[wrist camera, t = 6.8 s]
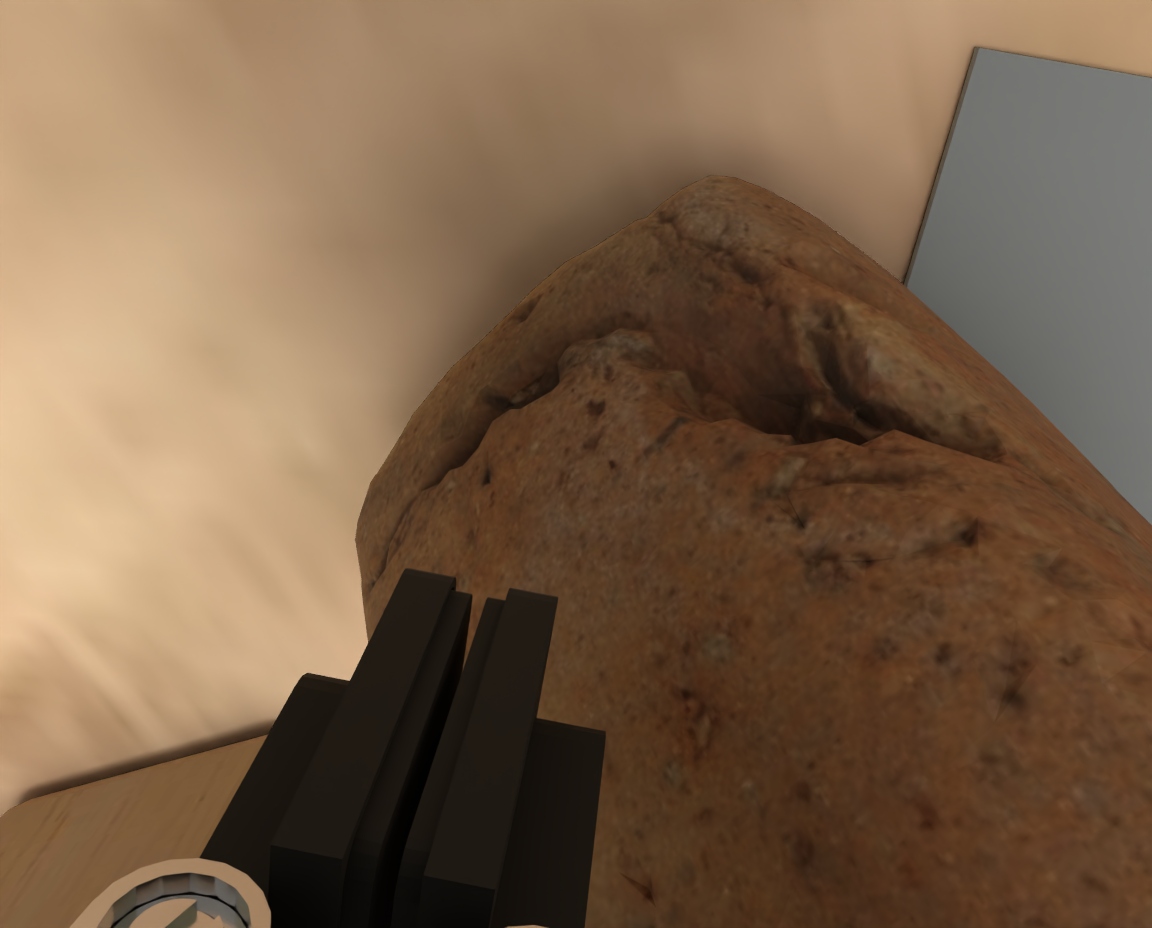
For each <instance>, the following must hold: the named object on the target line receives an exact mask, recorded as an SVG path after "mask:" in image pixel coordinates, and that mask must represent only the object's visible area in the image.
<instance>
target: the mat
mask: <svg viewBox="0 0 1152 928" xmlns="http://www.w3.org/2000/svg"><path fill="white" fill-rule="evenodd" d="M904 286H906V287H907V288H908V289H909V290H910V291H911V292H912V293H913V294H914V295H916V296H917V297H918V298H919V299H920V300H921V301H922V302H923V303H924V304H925V305H927V306H928V307H929V308H930V309H931V310H932V311H933V312H934V313H935V314H936V315H937V316H939V317H940V318H941V319H942V320H943V321H944V322H945V323H946V324H947V325H948V326H950V327H951V328H952V329H953V330H954V331H955V332H956V333H957V334H958V335H959V336H960V337H962V338H963V339H964V340H965V341H966V342H967V343H968V344H969V345H970V346H972V347H973V348H974V349H975V350H976V351H977V352H978V353H979V354H980V355H981V356H983V357H984V358H985V359H986V360H987V361H988V362H989V363H990V364H991V365H993V366H994V367H995V368H996V369H997V370H998V371H999V372H1000V373H1001V374H1003V375H1004V376H1005V377H1006V378H1007V379H1008V380H1009V381H1010V382H1011V383H1012V384H1013V385H1014V386H1015V387H1016V388H1017V389H1018V390H1019V391H1020V392H1021V393H1022V394H1023V395H1024V396H1025V397H1026V398H1027V399H1028V400H1030V401H1031V402H1032V403H1033V404H1034V405H1035V406H1036V407H1037V408H1038V409H1039V410H1040V411H1041V412H1042V413H1043V414H1044V415H1045V416H1046V417H1047V418H1048V420H1049V421H1050V422H1051V423H1052V424H1053V425H1054V426H1055V427H1056V428H1057V429H1058V430H1059V431H1060V432H1061V433H1062V434H1063V435H1064V436H1065V437H1066V438H1067V439H1068V440H1069V441H1070V442H1071V443H1072V444H1073V445H1074V446H1075V447H1076V448H1077V449H1078V450H1079V451H1080V452H1081V453H1082V454H1083V455H1084V456H1085V457H1086V458H1087V459H1088V460H1089V461H1090V462H1091V463H1092V464H1093V465H1094V466H1095V468H1096V469H1097V470H1098V471H1099V472H1100V473H1101V474H1102V475H1103V476H1104V477H1105V478H1106V479H1107V480H1108V481H1109V482H1110V483H1111V484H1112V485H1113V486H1114V488H1115V489H1116V490H1117V491H1118V492H1119V493H1120V494H1121V495H1122V496H1123V497H1124V498H1125V499H1126V500H1127V501H1128V502H1129V503H1130V504H1131V505H1132V506H1133V507H1134V508H1135V509H1136V510H1137V511H1138V512H1139V513H1140V514H1141V515H1142V516H1143V517H1144V518H1145V519H1146V520H1147V521H1148V522H1149V523H1150V524H1151V525H1152V78H1150V77H1144V76H1139V75H1133V74H1127V73H1122V72H1116V71H1110V70H1104V69H1099V68H1093V67H1087V66H1081V65H1076V64H1070V63H1064V62H1059V61H1053V60H1047V59H1041V58H1036V57H1030V56H1024V55H1018V54H1013V53H1007V52H1001V51H996V50H990V49H984V48H978V47H975V50H974V53H973V57H972V60H971V63H970V66H969V70H968V73H967V76H966V80H965V83H964V86H963V90H962V93H961V96H960V100H959V103H958V106H957V110H956V113H955V116H954V120H953V123H952V126H951V130H950V133H949V136H948V140H947V143H946V146H945V150H944V153H943V156H942V159H941V163H940V166H939V169H938V173H937V176H936V179H935V183H934V186H933V189H932V193H931V196H930V199H929V203H928V206H927V209H926V213H925V216H924V219H923V223H922V226H921V229H920V233H919V236H918V239H917V243H916V246H915V249H914V252H913V256H912V259H911V262H910V266H909V269H908V272H907V276H906V279H905V282H904Z"/></svg>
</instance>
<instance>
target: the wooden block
mask: <svg viewBox="0 0 1152 928" xmlns="http://www.w3.org/2000/svg"><path fill="white" fill-rule="evenodd" d="M267 736H268V735H264V736H260V737H257V738H253V739H249V740H246V741H242V742H238V743H235V744H231V745H227V746H224V747H220V748H216V749H213V750H209V751H205V752H202V753H198V754H194V755H191V756H187V757H183V758H180V759H176V760H172V761H169V762H165V763H161V764H158V765H154V766H150V767H147V768H143V769H139V770H136V771H132V772H128V773H125V774H121V775H117V776H114V777H110V778H106V779H103V780H99V781H95V782H92V783H88V784H84V785H81V786H77V787H73V788H70V789H66V790H62V791H59V792H55V793H51V794H48V795H44V796H40V797H37V798H33V799H30V800H28V801H26V802H24V803H22V804H20V805H18V806H16V807H14V808H12V809H10V810H8V811H7V812H6V813H5V814H4V815H3V816H2V817H1V818H0V928H70V926H71V925H72V924H73V923H74V922H75V921H76V920H77V918H78V917H79V916H80V915H81V914H82V913H83V911H84V910H85V909H86V908H87V907H88V906H89V904H90V903H91V902H92V901H93V900H94V899H96V898H97V897H98V896H99V895H100V894H101V893H102V892H103V891H105V890H106V889H107V888H108V887H109V886H110V885H111V884H112V883H114V882H115V881H117V880H119V879H121V878H123V877H124V876H126V875H128V874H130V873H132V872H134V871H136V870H138V869H139V868H142V867H145V866H149V865H152V864H156V863H160V862H163V861H167V860H172V859H191V858H199V857H200V855H201V854H202V852H203V850H204V848H205V847H206V845H207V843H208V841H209V839H210V838H211V836H212V834H213V832H214V830H215V829H216V827H217V825H218V823H219V821H220V820H221V818H222V816H223V814H224V813H225V811H226V809H227V807H228V805H229V804H230V802H231V800H232V798H233V796H234V795H235V793H236V791H237V789H238V787H239V786H240V784H241V782H242V780H243V779H244V777H245V775H246V773H247V771H248V770H249V768H250V766H251V764H252V762H253V761H254V759H255V757H256V755H257V754H258V752H259V750H260V748H261V746H262V745H263V743H264V741H265V739H266V737H267Z"/></svg>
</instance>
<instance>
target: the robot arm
mask: <svg viewBox="0 0 1152 928" xmlns="http://www.w3.org/2000/svg"><path fill="white" fill-rule="evenodd" d="M472 597H473V596H472V594H470V593H465V592H460V591H456V577H453V576H447V575H442V574H437V573H432V572H427V571H421V570H416V569H411V568H406V569H405V570H404V571H403V573H402V575H401V577H400V579H399V581H398V583H397V585H396V587H395V589H394V591H393V593H392V595H391V598H390V600H389V602H388V604H387V606H386V608H385V610H384V612H383V614H382V616H381V618H380V620H379V622H378V624H377V626H376V628H375V631H374V633H373V635H372V637H371V639H370V641H369V643H368V645H367V647H366V649H365V651H364V653H363V655H362V657H361V659H360V661H359V664H358V666H357V668H356V670H355V672H354V674H353V676H352V678H351V680H350V681H346V680H341V679H336V678H331V677H326V676H321V675H316V674H311V673H306V674H305V675H303V676H302V677H301V678H300V680H299V681H298V683H297V684H296V686H295V687H294V689H293V691H292V693H291V694H290V696H289V698H288V700H287V702H286V703H285V705H284V707H283V709H282V711H281V712H280V714H279V716H278V718H277V720H276V721H275V723H274V725H273V727H272V728H271V730H270V732H269V734H268V736H267V737H266V739H265V741H264V743H263V745H262V746H261V748H260V750H259V752H258V754H257V755H256V757H255V759H254V761H253V762H252V764H251V766H250V768H249V770H248V771H247V773H246V775H245V777H244V779H243V780H242V782H241V784H240V786H239V787H238V789H237V791H236V793H235V795H234V796H233V798H232V800H231V802H230V804H229V805H228V807H227V809H226V811H225V813H224V814H223V816H222V818H221V820H220V821H219V823H218V825H217V827H216V829H215V830H214V832H213V834H212V836H211V838H210V839H209V841H208V843H207V845H206V847H205V848H204V850H203V852H202V854H201V855H200V857H199V858H191V859H172V860H167V861H163V862H160V863H156V864H152V865H149V866H145V867H142V868H139V869H138V870H136V871H134V872H132V873H130V874H128V875H126V876H124V877H123V878H121V879H119V880H117V881H115V882H114V883H112V884H111V885H110V886H109V887H108V888H107V889H106V890H105V891H103V892H102V893H101V894H100V895H99V896H98V897H97V898H96V899H94V900H93V901H92V902H91V903H90V904H89V906H88V907H87V908H86V909H85V910H84V911H83V913H82V914H81V915H80V916H79V917H78V918H77V920H76V921H75V922H74V923H73V924H72V925H71V926H70V928H585V920H586V911H587V902H588V893H589V884H590V876H591V867H592V858H593V849H594V840H595V831H596V822H597V813H598V804H599V795H600V786H601V777H602V768H603V760H604V751H605V740H606V731H602V730H597V729H592V728H587V727H581V726H576V725H571V724H566V723H561V722H556V721H551V720H546V719H541V718H537V713H538V707H539V702H540V696H541V691H542V685H543V680H544V674H545V669H546V663H547V658H548V653H549V647H550V642H551V636H552V631H553V625H554V620H555V614H556V609H557V603H558V597H556V596H551V595H546V594H541V593H535V592H530V591H525V590H520V589H515V588H509V590H508V593H507V596H506V600H501V599H496V598H491V597H487V599H486V602H485V605H484V608H483V611H482V614H481V617H480V620H479V623H478V626H477V629H476V632H475V635H474V638H473V641H472V644H471V647H470V650H469V653H468V656H467V659H466V663H465V666H464V669H463V665H464V658H465V650H466V643H467V636H468V629H469V622H470V615H471V608H472Z"/></svg>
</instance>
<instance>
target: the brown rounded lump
mask: <svg viewBox="0 0 1152 928" xmlns="http://www.w3.org/2000/svg"><path fill="white" fill-rule="evenodd" d="M355 541H356V548H357V554H358V560H359V566H360V572H361V578H362V596H363V606H364V614H365V621H366V629H367V637H368V643H369V641H370V639H371V637H372V635H373V633H374V631H375V628H376V626H377V624H378V622H379V620H380V618H381V616H382V614H383V612H384V610H385V608H386V606H387V604H388V602H389V600H390V598H391V595H392V593H393V591H394V589H395V587H396V585H397V583H398V581H399V579H400V577H401V575H402V573H403V571H404V570H405V569H406V568H411V569H416V570H421V571H427V572H432V573H437V574H442V575H447V576H453V577H456V591H460V592H465V593H470V594H472V596H473V597H472V608H471V615H470V622H469V629H468V636H467V643H466V650H465V658H464V665H463V669H464V666H465V663H466V659H467V656H468V653H469V650H470V647H471V644H472V641H473V638H474V635H475V632H476V629H477V626H478V623H479V620H480V617H481V614H482V611H483V608H484V605H485V602H486V599H487V597H491V598H496V599H501V600H506V596H507V593H508V590H509V588H515V589H520V590H525V591H530V592H535V593H541V594H546V595H551V596H556V597H558V603H557V609H556V614H555V620H554V625H553V631H552V636H551V642H550V647H549V653H548V658H547V663H546V669H545V674H544V680H543V685H542V691H541V696H540V702H539V707H538V713H537V718H541V719H546V720H551V721H556V722H561V723H566V724H571V725H576V726H581V727H587V728H592V729H597V730H602V731H606V740H605V751H604V760H603V768H602V777H601V786H600V795H599V804H598V813H597V822H596V831H595V840H594V849H593V858H592V867H591V876H590V884H589V893H588V902H587V911H586V920H585V928H1152V525H1151V524H1150V523H1149V522H1148V521H1147V520H1146V519H1145V518H1144V517H1143V516H1142V515H1141V514H1140V513H1139V512H1138V511H1137V510H1136V509H1135V508H1134V507H1133V506H1132V505H1131V504H1130V503H1129V502H1128V501H1127V500H1126V499H1125V498H1124V497H1123V496H1122V495H1121V494H1120V493H1119V492H1118V491H1117V490H1116V489H1115V488H1114V486H1113V485H1112V484H1111V483H1110V482H1109V481H1108V480H1107V479H1106V478H1105V477H1104V476H1103V475H1102V474H1101V473H1100V472H1099V471H1098V470H1097V469H1096V468H1095V466H1094V465H1093V464H1092V463H1091V462H1090V461H1089V460H1088V459H1087V458H1086V457H1085V456H1084V455H1083V454H1082V453H1081V452H1080V451H1079V450H1078V449H1077V448H1076V447H1075V446H1074V445H1073V444H1072V443H1071V442H1070V441H1069V440H1068V439H1067V438H1066V437H1065V436H1064V435H1063V434H1062V433H1061V432H1060V431H1059V430H1058V429H1057V428H1056V427H1055V426H1054V425H1053V424H1052V423H1051V422H1050V421H1049V420H1048V418H1047V417H1046V416H1045V415H1044V414H1043V413H1042V412H1041V411H1040V410H1039V409H1038V408H1037V407H1036V406H1035V405H1034V404H1033V403H1032V402H1031V401H1030V400H1028V399H1027V398H1026V397H1025V396H1024V395H1023V394H1022V393H1021V392H1020V391H1019V390H1018V389H1017V388H1016V387H1015V386H1014V385H1013V384H1012V383H1011V382H1010V381H1009V380H1008V379H1007V378H1006V377H1005V376H1004V375H1003V374H1001V373H1000V372H999V371H998V370H997V369H996V368H995V367H994V366H993V365H991V364H990V363H989V362H988V361H987V360H986V359H985V358H984V357H983V356H981V355H980V354H979V353H978V352H977V351H976V350H975V349H974V348H973V347H972V346H970V345H969V344H968V343H967V342H966V341H965V340H964V339H963V338H962V337H960V336H959V335H958V334H957V333H956V332H955V331H954V330H953V329H952V328H951V327H950V326H948V325H947V324H946V323H945V322H944V321H943V320H942V319H941V318H940V317H939V316H937V315H936V314H935V313H934V312H933V311H932V310H931V309H930V308H929V307H928V306H927V305H925V304H924V303H923V302H922V301H921V300H920V299H919V298H918V297H917V296H916V295H914V294H913V293H912V292H911V291H910V290H909V289H908V288H907V287H906V286H904V285H903V284H902V283H901V282H899V281H898V280H897V279H896V278H895V277H893V276H892V275H891V274H890V273H888V272H887V271H886V270H885V269H884V268H882V267H881V266H880V265H879V264H877V263H876V262H875V261H874V260H872V259H871V258H870V257H869V256H867V255H866V254H865V253H863V252H862V251H861V250H859V249H858V248H857V247H855V246H854V245H853V244H851V243H850V242H849V241H847V240H846V239H845V238H843V237H842V236H841V235H839V234H838V233H837V232H835V231H834V230H833V229H831V228H830V227H828V226H827V225H826V224H824V223H823V222H822V221H820V220H819V219H817V218H816V217H814V216H812V215H811V214H809V213H807V212H806V211H804V210H802V209H801V208H799V207H797V206H796V205H794V204H792V203H791V202H789V201H787V200H785V199H783V198H781V197H779V196H777V195H776V194H774V193H772V192H770V191H768V190H766V189H764V188H761V187H759V186H756V185H753V184H751V183H748V182H746V181H743V180H740V179H738V178H734V177H724V176H714V175H710V176H708V177H706V178H704V179H702V180H700V181H697V182H695V183H693V184H691V185H689V186H687V187H685V188H683V189H682V190H680V191H679V192H677V193H676V194H675V195H673V196H672V197H670V198H669V199H668V200H666V201H665V202H664V203H662V204H661V205H660V206H659V207H658V208H657V209H656V210H655V211H653V212H652V213H651V214H650V215H649V216H648V217H647V218H645V219H639V220H636V221H635V222H633V223H631V224H630V225H628V226H627V227H625V228H624V229H622V230H620V231H619V232H617V233H616V234H614V235H612V236H611V237H609V238H608V239H606V240H605V241H603V242H601V243H600V244H598V245H597V246H595V247H593V248H591V249H589V250H588V251H586V252H584V253H582V254H580V255H578V256H576V257H574V258H572V259H570V260H569V261H567V262H565V263H564V264H563V265H562V266H561V267H559V268H558V269H557V270H556V271H555V272H553V273H552V274H551V275H550V276H549V277H547V278H546V279H545V280H544V281H543V282H542V283H540V284H539V285H538V286H537V287H536V288H534V289H533V290H532V291H531V292H530V293H529V294H528V295H527V296H526V297H525V298H524V299H523V300H522V301H521V303H520V304H519V305H518V306H517V307H516V308H515V309H514V310H513V311H512V312H511V313H510V314H509V315H508V316H506V317H505V318H504V319H503V320H502V321H501V322H500V323H499V324H498V325H497V326H496V327H495V328H494V329H493V330H492V331H491V332H490V333H489V334H488V335H487V336H485V337H484V338H483V339H482V340H481V341H480V342H479V343H478V344H477V345H476V346H475V347H474V348H473V349H472V350H471V351H469V352H468V353H467V354H466V355H465V356H464V357H463V358H462V359H461V360H460V361H458V362H457V363H456V364H455V365H454V366H453V367H452V368H451V369H450V370H449V371H448V373H447V374H446V375H445V376H444V378H443V379H442V380H441V381H440V382H439V384H438V385H437V386H436V387H435V388H434V390H433V391H432V392H431V393H430V394H429V396H428V397H427V398H426V399H425V400H424V402H423V403H422V404H421V405H420V407H419V408H418V409H417V410H416V411H415V413H414V414H413V415H412V417H411V419H410V421H409V422H408V424H407V426H406V428H405V429H404V431H403V433H402V435H401V436H400V438H399V440H398V441H397V443H396V444H395V446H394V448H393V449H392V451H391V452H390V454H389V456H388V457H387V459H386V460H385V462H384V464H383V465H382V467H381V468H380V470H379V472H378V473H377V474H376V475H375V477H374V478H373V480H372V481H371V483H370V486H369V489H368V492H367V495H366V498H365V501H364V504H363V507H362V510H361V513H360V516H359V519H358V524H357V531H356V538H355Z"/></svg>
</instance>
